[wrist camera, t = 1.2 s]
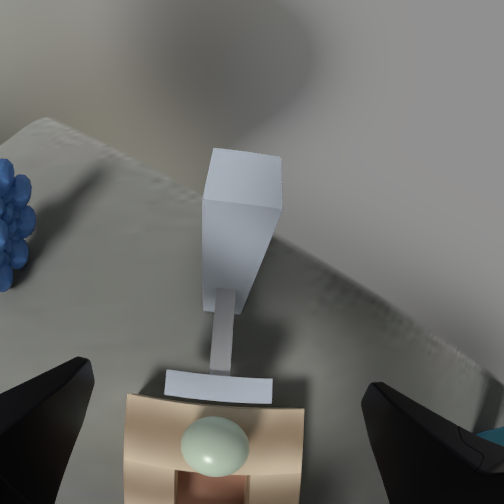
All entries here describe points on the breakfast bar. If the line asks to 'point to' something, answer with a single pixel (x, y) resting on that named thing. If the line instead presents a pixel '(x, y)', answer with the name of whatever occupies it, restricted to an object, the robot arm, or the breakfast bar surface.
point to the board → (198, 485)
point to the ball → (214, 446)
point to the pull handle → (232, 265)
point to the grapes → (14, 222)
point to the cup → (493, 435)
